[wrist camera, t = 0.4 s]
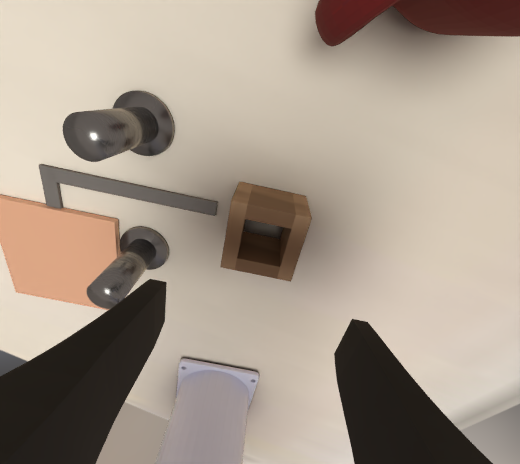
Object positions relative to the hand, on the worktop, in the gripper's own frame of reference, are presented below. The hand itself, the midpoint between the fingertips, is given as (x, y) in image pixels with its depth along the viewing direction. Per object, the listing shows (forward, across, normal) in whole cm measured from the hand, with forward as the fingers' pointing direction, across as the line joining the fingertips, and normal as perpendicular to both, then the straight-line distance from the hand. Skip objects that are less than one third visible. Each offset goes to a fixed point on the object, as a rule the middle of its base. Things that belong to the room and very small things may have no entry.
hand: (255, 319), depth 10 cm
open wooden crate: (+9, 0, 0) cm, 9 cm away
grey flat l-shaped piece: (+9, +9, +1) cm, 13 cm away
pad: (+9, +15, +7) cm, 19 cm away
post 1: (+9, +8, -4) cm, 13 cm away
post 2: (+9, +8, +4) cm, 13 cm away
